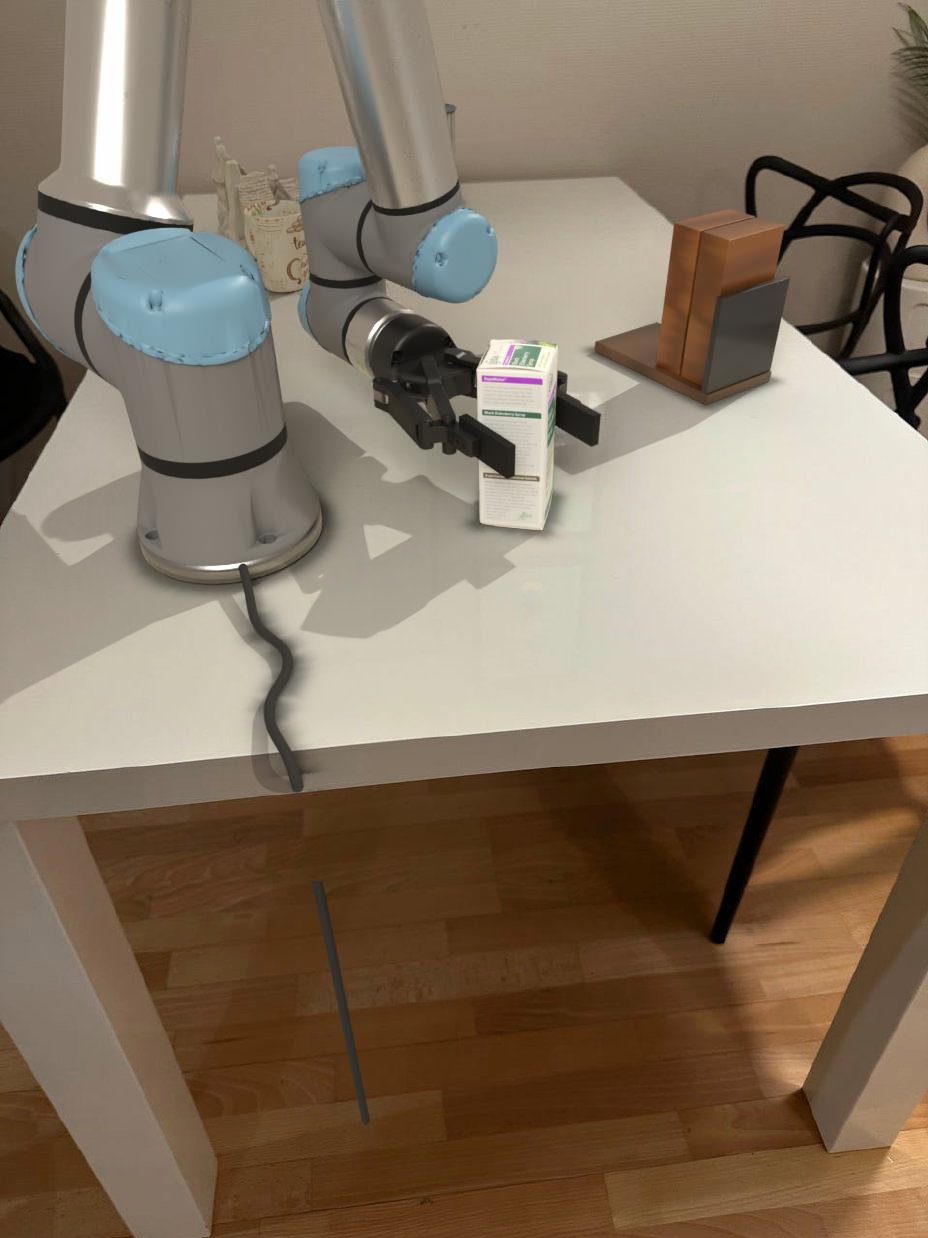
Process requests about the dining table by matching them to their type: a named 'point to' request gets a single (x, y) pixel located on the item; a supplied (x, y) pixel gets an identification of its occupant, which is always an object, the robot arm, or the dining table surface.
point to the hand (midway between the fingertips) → (554, 445)
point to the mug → (278, 244)
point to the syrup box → (518, 430)
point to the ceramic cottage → (244, 192)
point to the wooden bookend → (712, 309)
